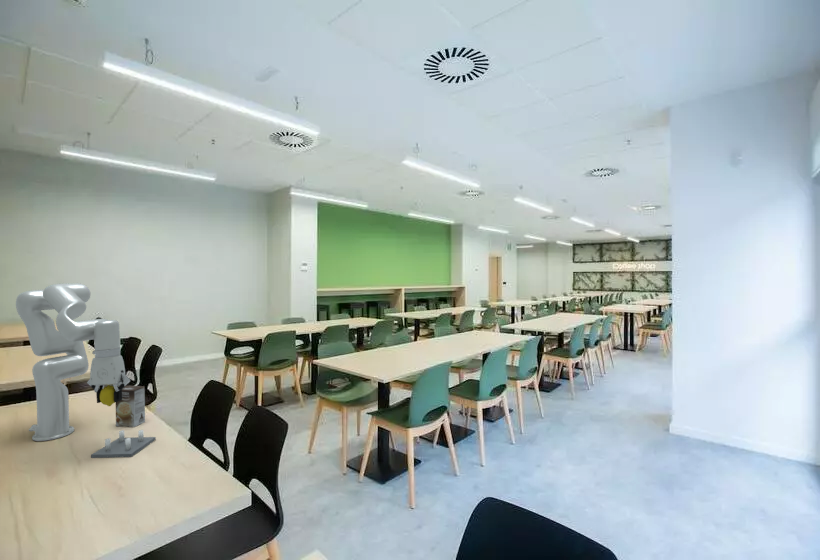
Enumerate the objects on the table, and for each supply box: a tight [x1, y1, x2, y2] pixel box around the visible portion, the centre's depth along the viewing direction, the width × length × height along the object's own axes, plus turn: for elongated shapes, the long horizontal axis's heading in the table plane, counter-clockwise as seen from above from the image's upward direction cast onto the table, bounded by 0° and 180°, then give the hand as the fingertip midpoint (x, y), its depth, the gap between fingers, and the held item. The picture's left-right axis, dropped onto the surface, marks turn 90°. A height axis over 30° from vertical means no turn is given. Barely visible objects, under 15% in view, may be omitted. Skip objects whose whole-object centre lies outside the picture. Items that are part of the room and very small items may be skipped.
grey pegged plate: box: [90, 429, 157, 459], centre depth 145 cm, size 14×14×5 cm
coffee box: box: [115, 385, 146, 428], centre depth 168 cm, size 9×6×16 cm
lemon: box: [100, 385, 116, 407], centre depth 144 cm, size 6×6×8 cm
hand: (109, 400), depth 144 cm, fingers closed on lemon, 5 cm apart
